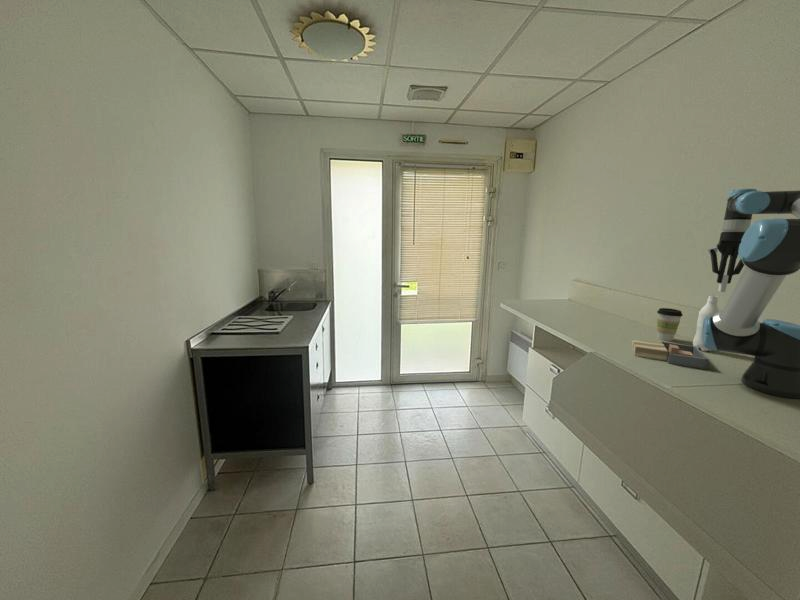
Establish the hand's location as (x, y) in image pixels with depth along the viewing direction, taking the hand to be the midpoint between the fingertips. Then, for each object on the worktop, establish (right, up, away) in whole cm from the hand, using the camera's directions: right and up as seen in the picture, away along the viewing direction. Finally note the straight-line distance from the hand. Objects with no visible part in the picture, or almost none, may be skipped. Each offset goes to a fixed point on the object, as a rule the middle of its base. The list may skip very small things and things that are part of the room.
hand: (721, 291), depth 131 cm
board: (-20, -27, +13) cm, 36 cm away
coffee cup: (+4, -23, +33) cm, 41 cm away
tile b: (-9, -26, +6) cm, 28 cm away
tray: (-10, -28, +7) cm, 31 cm away
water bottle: (+9, -26, +19) cm, 34 cm away
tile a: (-14, -25, +9) cm, 30 cm away
